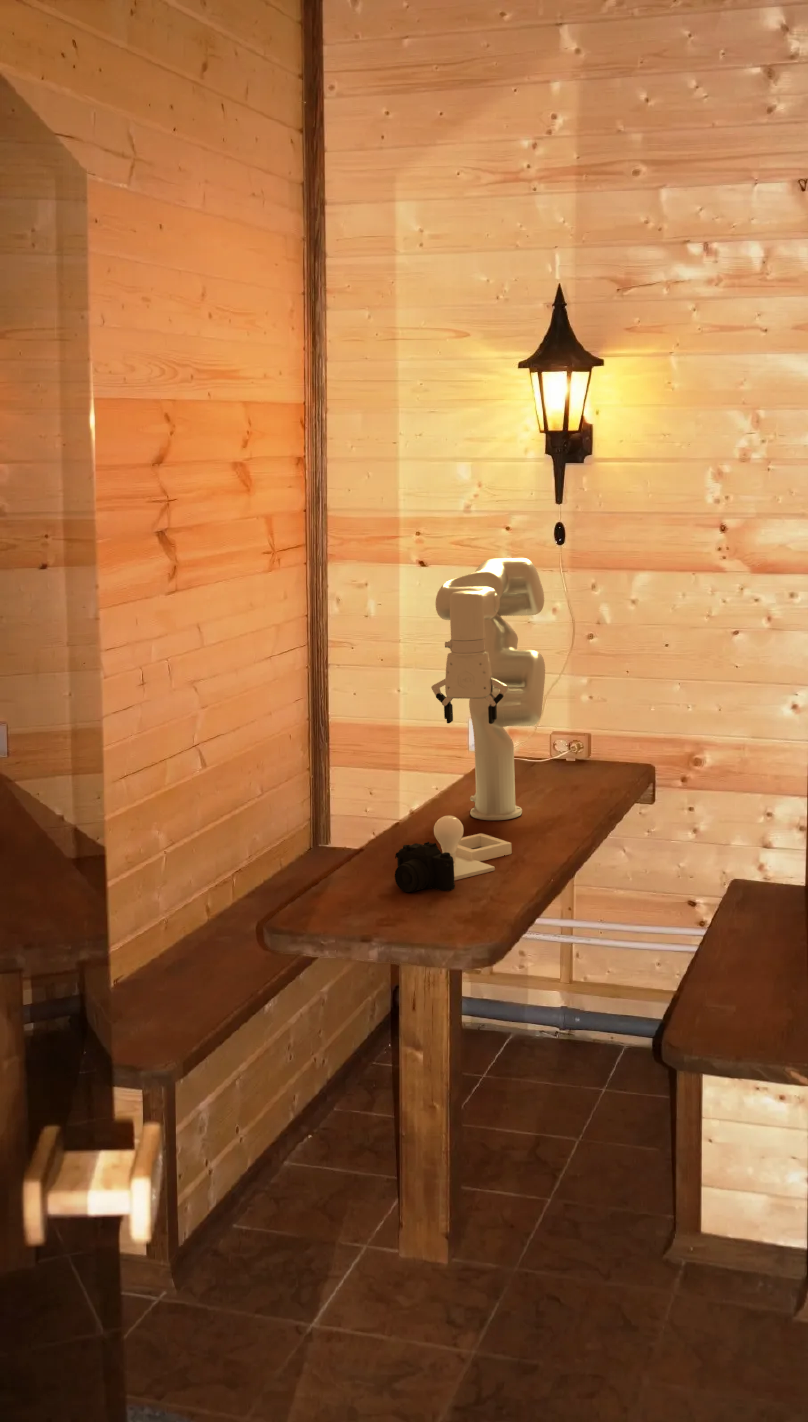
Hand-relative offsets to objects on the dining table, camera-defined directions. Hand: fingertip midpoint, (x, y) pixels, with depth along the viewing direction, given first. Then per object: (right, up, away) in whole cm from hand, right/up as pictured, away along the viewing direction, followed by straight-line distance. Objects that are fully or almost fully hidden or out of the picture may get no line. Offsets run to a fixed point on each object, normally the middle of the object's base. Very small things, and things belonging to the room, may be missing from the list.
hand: (470, 722), depth 328 cm
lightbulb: (-5, -31, -13) cm, 34 cm away
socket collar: (+1, -29, -2) cm, 29 cm away
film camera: (-12, -34, -25) cm, 44 cm away
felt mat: (-5, -32, -13) cm, 35 cm away
